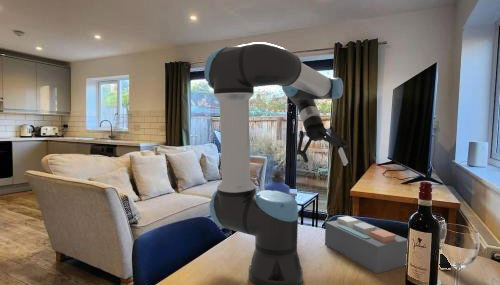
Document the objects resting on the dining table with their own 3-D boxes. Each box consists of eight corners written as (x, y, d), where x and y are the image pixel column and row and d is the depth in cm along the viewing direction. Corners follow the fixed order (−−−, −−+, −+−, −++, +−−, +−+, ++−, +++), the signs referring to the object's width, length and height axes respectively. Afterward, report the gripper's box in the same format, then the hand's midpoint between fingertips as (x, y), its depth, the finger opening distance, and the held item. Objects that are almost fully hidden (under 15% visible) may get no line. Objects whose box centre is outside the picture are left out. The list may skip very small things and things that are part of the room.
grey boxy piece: (407, 265, 92) (408, 238, 91) (376, 273, 86) (377, 245, 86) (352, 238, 113) (353, 216, 112) (324, 244, 107) (325, 221, 107)
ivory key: (358, 229, 105) (358, 220, 105) (347, 231, 103) (347, 221, 102) (347, 224, 109) (348, 215, 109) (337, 226, 107) (337, 217, 107)
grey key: (375, 236, 98) (375, 226, 98) (363, 238, 96) (364, 229, 96) (363, 231, 102) (363, 222, 102) (352, 233, 100) (352, 224, 100)
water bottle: (292, 234, 117) (293, 170, 115) (281, 241, 109) (283, 173, 107) (271, 229, 121) (272, 168, 120) (259, 236, 114) (260, 171, 112)
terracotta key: (394, 245, 91) (395, 234, 91) (383, 247, 89) (383, 237, 89) (381, 239, 96) (381, 229, 96) (370, 241, 94) (370, 231, 93)
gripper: (337, 121, 126) (356, 166, 115) (280, 129, 122) (294, 176, 112) (343, 111, 120) (363, 157, 109) (283, 118, 116) (298, 167, 105)
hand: (328, 166), depth 110 cm, fingers open, 13 cm apart
